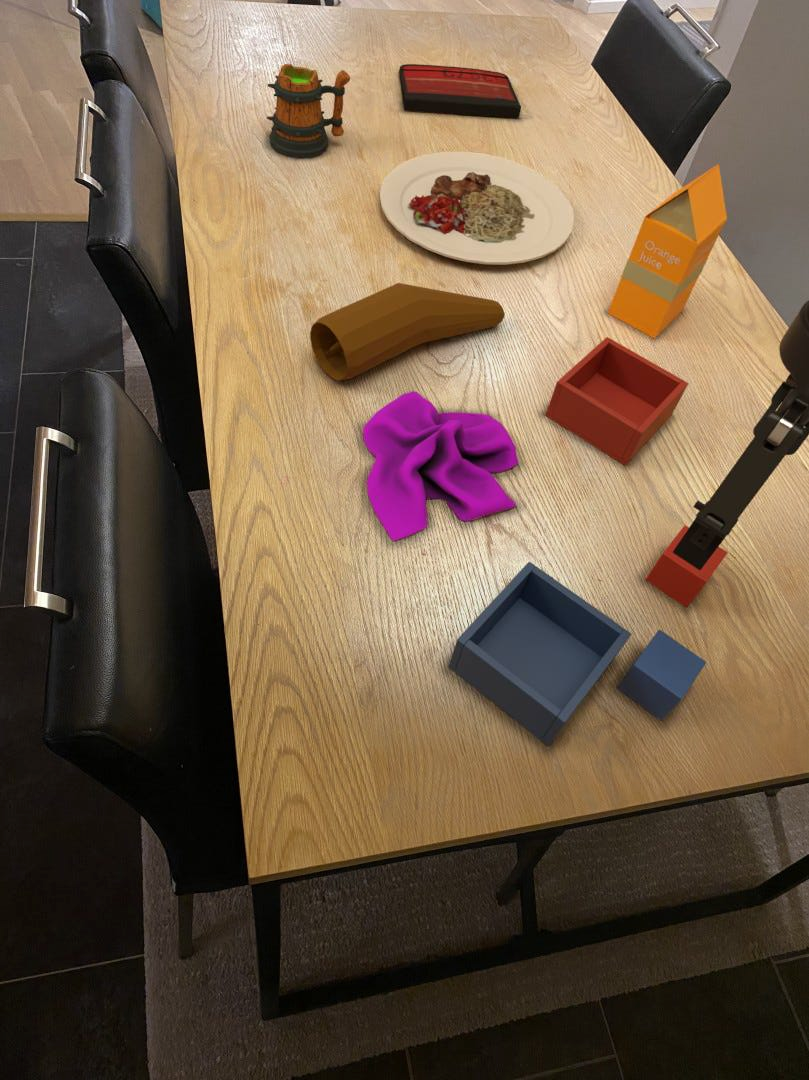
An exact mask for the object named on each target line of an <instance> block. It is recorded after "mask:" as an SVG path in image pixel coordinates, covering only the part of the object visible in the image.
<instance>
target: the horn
mask: <svg viewBox="0 0 809 1080" xmlns="http://www.w3.org/2000/svg"><path fill="white" fill-rule="evenodd" d="M505 316H506V312H505V311H504V308H503V306H502V305H501V304H500V303H499V301H496V300H493V299H489V298H483V297H478V296H472V295H466V294H461V293H456V292H451V291H445V290H440V289H434V288H428V287H423V286H419V285H418V286H417V285H412V284H407V283H401V282H397V283H395V284H393V285H391V286H387V287H386V288H384V289H382V290H381V289H380V290H379V291H377V292H374V293H372V294H370V295H368V296H365V297H364V298H362V299H359V300H357V301H355V302H352V303H350V304H348V305H346V306H344V307H341V308H339V309H337V310H334V311H332V312H329V313H327V314H325V315H323V316H321V317H320V318H318V319H317V320H316V321H315V322H314V323H313V324H312V326H311V328H310V334H309V337H310V339H309V340H310V344H311V349H312V352H313V354H314V357H315V359H316V361H317V363H318V364H319V366H320V367H321V369H322V370H323V371H324V372H325V373H326V375H328V376H329V377H330V378H332V379H333V380H337V381H343V380H345V381H347V380H350V379H352V378H354V377H356V376H359V375H360V374H362V373H364V372H366V371H368V370H370V369H372V368H374V367H376V366H378V365H380V364H382V363H384V362H386V361H388V360H390V359H392V358H394V357H396V356H398V355H400V354H402V353H404V352H406V351H408V350H410V349H412V348H414V347H416V346H419V345H422V344H426V343H430V342H434V341H438V340H443V339H447V338H450V337H455V336H459V335H463V334H468V333H472V332H477V331H480V330H485V329H489V328H494V327H496V326H497V325H499V324H500V323H502V322H503V321H504V318H505Z"/></svg>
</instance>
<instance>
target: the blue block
mask: <svg viewBox="0 0 809 1080" xmlns="http://www.w3.org/2000/svg"><path fill="white" fill-rule="evenodd" d="M632 663H633V664H632V665H631V666H630V668H629V669H628V670H627V671H626V673H625V674H624V676H622V679H621V680H620V681H619V683H618V684H617V685H616V689H617V690H618V691H620V692H621V693H623V694H624V695H625V696H626V697H628V698H629V699H631V701H634V702H635V703H636V704H637V705H638V706H640V707H642V708H643V709H644V710H645V711H647V712H648V713H650V714H651V715H652V716H654V717H655V718H657V719H658V720H659V721H663V720H664V719H665V718H666V716H668V715H669V714H670V712H672V710H674V709H675V707H677V705H679V704H680V702H681V701H682V700H683V699H684V697H685V696H686V695H687V693H688V691H689V690H690V688H692V686H693V683H694V682H695V681H696V679H697V678H698V676H699V675H700V673H701V672H702V670H703V669H704V667H705V666H706V664H707V661H706V660H705V659H703V658H702V657H700V656H699V655H697V654H696V653H695V652H693V651H691V650H690V649H689V648H687V647H685V646H684V644H682V643H680V642H679V641H677V640H676V639H674V638H673V637H672V636H670V635H669V634H667V633H666V632H664V631H663V630H661V629H658V631H656V633H655V634H654V636H653V637H652V638H651V640H649V642H648V643H647V645H646V646H645V647H644V649H643V650H642V651H641V652H640V654H639V655H638V656H637V658H636V659H635V661H634V662H632Z"/></svg>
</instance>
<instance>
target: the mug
mask: <svg viewBox="0 0 809 1080" xmlns="http://www.w3.org/2000/svg"><path fill="white" fill-rule="evenodd" d="M279 70H280V71H279V72H278V75H275V76H274V77H275V78H276V80H275V82H274V83H267V87H268V88H271V89H272V90H274V93H273V96H274V97H276V102H275V107H274V110H275V112H274V113H273V114H272V116H267V117H266V120H268V121H271V122H272V124H273V125H272V127H271V131H270V133H269V135H268V136H269V145H270V147H271V148H272V150H273V151H275V152H276V153H278V154H280V155H282V156H285V157H287V158H291V159H292V158H294V159H297V160H299V159H312V158H317V157H319V156H321V155H323V154H325V153H326V152H327V150H328V148H329V145H330V143H329V142H330V141H329V137H328V134H327V131H326V128H325V127H328V126H331V131H330V132H331V134H332V136H333V137H335V138H336V137H341V136H343V135H344V133H345V130H344V128H343V126H342V125H343V122H344V121H343V117H342V114H343V110H344V95H345V93H346V91H345V90H346V87H345V86H346V85H347V84H348V83H349V82H350V81H351V77H350V74H349V73H348V72H347V71H346V70H343V69H342V70H340V71H338V73H337V74H336V78H335V82H334V85H333V86H332V85H328V84H327V85H326V84H325V85H322V84H321V83H322V82H323V81H324V80H323V78H322V79H319V75H318V71H317V69H310V68H307V67H303V66H294V65H293V64H292V63H284V64H283V65H282V66H281V67H280V69H279ZM323 94H333V95H334V98H333V99H334V101H333V110H332V111H333V112H332V116H331V118H324V115H323V114H325V111H324V110H322V103H321V101H322V100H323V98H322V96H323Z"/></svg>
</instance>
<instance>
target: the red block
mask: <svg viewBox="0 0 809 1080" xmlns="http://www.w3.org/2000/svg"><path fill="white" fill-rule="evenodd" d="M689 527H690V526H687V525H685V524H684V525H683V527H682V528H681V529H680V531H679V532H678V533H677V535H676V536H675V537H674V538H673V540H671V542H670V543H669V544H668V546H667V547H666V548H665V550H664V551H663V552H662V554H661V555H660V556H659V558H658V560H657V561H656V562H655V564H654V565H653V567H652V569H651V570H650V571H649V573H648V575H647V576H646V578H645V580H644V581H646V582H648V583H649V584H650V585H652V586H653V587H654V588H656V589H658V590H659V591H661V592H662V593H664V594H665V595H667V596H668V597H670V598H671V599H673V600H674V601H675V602H677V603H679V604H680V605H681V606H683V607H685V608H688V607H689V606H690V604H691V603H692V602H693V601H694V599H695V598H696V597H697V596H698V594H699V593H700V592H701V591H702V589H703V588H704V587H705V585H706V584H707V583H708V582H709V580H710V579H711V578H712V576H713V574H714V573H715V572H716V570H717V568H718V567H719V566H720V565H721V563H722V562H723V561H724V559H725V558H726V556H727V555H728V554H729V552H728V551H727V550H725V549H724V548H722V547H721V546H720V545H719V546H718V548H717V549H716V550H715V552H714V553H713V554H712V556H711V557H710V558H709V560H708V561H707V562H706V563H705V565H704V566H703V567H702V569H701V570H698V569H697V568H695V567H694V566H692V565H691V564H689V563H688V562H686V561H685V560H683V559H682V558H680V557H679V556H677V555H675V554H674V553H672V552H673V551H674V549H675V548H676V546H677V545H678V543H679V542H680V540H681V539H682V538H683V536H684V535H685V533H686V532H687V530H688V529H689Z"/></svg>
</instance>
